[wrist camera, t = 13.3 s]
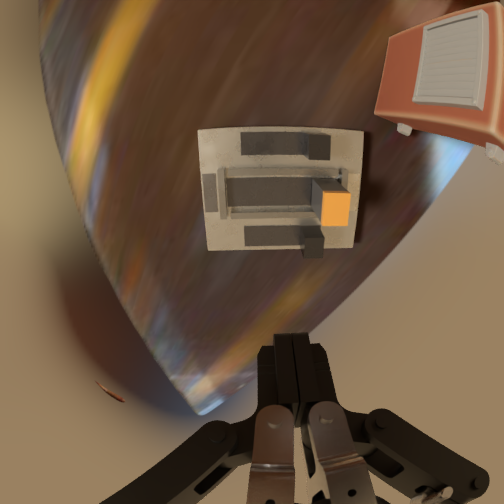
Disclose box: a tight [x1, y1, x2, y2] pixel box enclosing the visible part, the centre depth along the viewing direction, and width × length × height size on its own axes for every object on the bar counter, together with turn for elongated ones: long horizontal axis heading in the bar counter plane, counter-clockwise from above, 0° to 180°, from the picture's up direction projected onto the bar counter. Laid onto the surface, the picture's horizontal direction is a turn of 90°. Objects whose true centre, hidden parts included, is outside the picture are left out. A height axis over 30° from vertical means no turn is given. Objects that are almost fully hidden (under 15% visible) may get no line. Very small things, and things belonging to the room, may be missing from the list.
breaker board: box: [198, 126, 364, 258], centre depth 32 cm, size 16×20×6 cm
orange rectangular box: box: [374, 1, 504, 165], centre depth 18 cm, size 21×7×15 cm
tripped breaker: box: [311, 178, 351, 226], centre depth 30 cm, size 4×3×6 cm
